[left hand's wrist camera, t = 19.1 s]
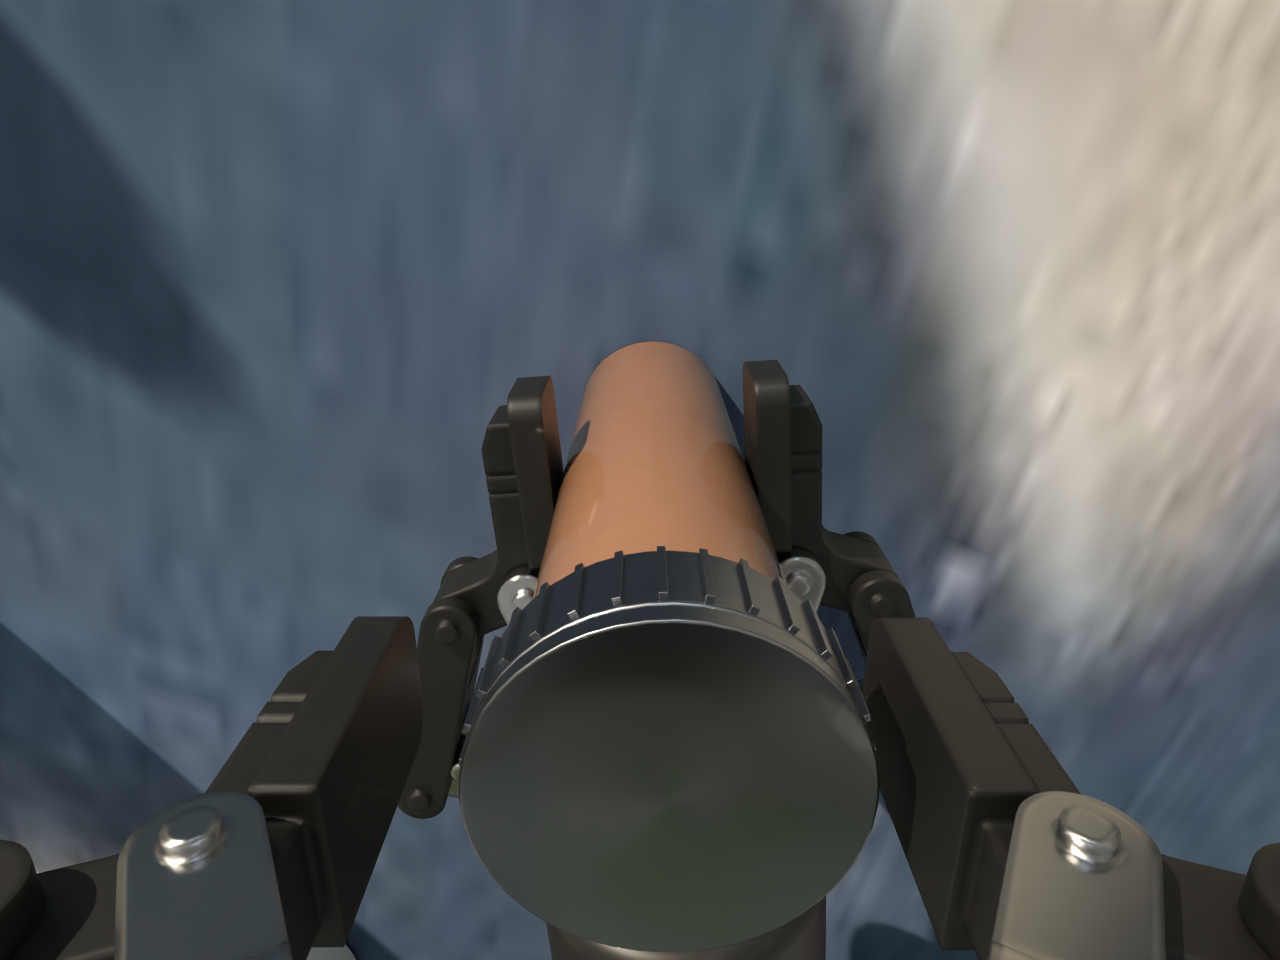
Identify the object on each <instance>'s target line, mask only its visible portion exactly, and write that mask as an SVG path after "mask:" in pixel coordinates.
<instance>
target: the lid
mask: <svg viewBox="0 0 1280 960" xmlns="http://www.w3.org/2000/svg"><path fill="white" fill-rule="evenodd" d="M870 721H872V719H871V716H870V713H869V710H868V708H867V705H866V703H865V701H864V698H863V696H862V693H861V691H860V688H859V686H858V684H857V681H856V679H855V676H854V674H853V671H852V669H851V667H850V664H849V662H848V659H847V658H845V655H844V653H843V650H842V648H841V645H840V643H839V641H838V638H837V636H836V633H835V631H834V630H833V628H832V627H831V628H829V629H827V630H826V629H825V627H824V626H823V624H822V623H821V621H820V620H819V618H818V615H817V613H816V610H815V607H814V605H813V603H812V602H811V601H810V600H809V599H807V600H806V601H805V602H803V601H801V600H800V599H799V598H798V597H797V596H796V595H794V594H793V593H792V592H791V591H790V590H789V589H787V588H786V585H785V582H784V579H782V578H781V577H779V576H777V577H776V578H775V579H774V580H773V579H772V578H770V577H769V576H767V575H765V574H763V573H760V572H758V571H756V570H754V569H752V568H750V567H749V563H748V561H746V560H744V559H740V560H739V562H738V563H737V562H734V561H731V560H728V559H725V558H722V557H717V556H712V555H709V554H708V550H707V549H701V548H700V549H699V553H697V552H685V551H672V550H669V551H666V547H665V546H657V551H645V552H639V553H633V554H626V555H624V553H623V551H618V552H615V554H614V557H613V558H610V559H606V560H603V561H599V562H596V563H594V564H591V565H589V566H587V567H585V566H584V564H583V563H580V564H578V565H576V566H575V570H574V572H573V573H571V574H569V575H567V576H566V577H564V578H562V579H560V580H559V581H557V582H555V583H554V584H552V585H551V586H550V585H549V584H548V582H546V583H544V584H543V585H541V587H540V591H539V595H537V596H536V597H535V598H534V599H532V600H531V601H530V603H529V604H528V605H527V606H526V607H525V608H524V609H523V610H522V609H520V608H519V607H516V609H515V610H514V611H513V612H512V616H511V619H510V623H509V626H508V628H507V629H506V631H505V632H504V634H503V636H502V637H501V638H500V637H497V636H495V637H494V639H493V641H492V644H491V647H490V650H489V653H488V657H487V660H486V663H485V666H484V668H481V672H480V675H479V678H478V681H477V684H476V688H475V691H474V694H473V697H472V700H471V704H470V707H469V710H468V713H467V716H466V719H465V723H464V726H463V731H465V732H467V735H466V738H465V741H464V744H463V748H462V751H461V754H460V758H459V766H460V771H459V801H460V808H461V814H462V819H463V822H464V825H465V828H466V831H467V834H468V837H469V840H470V842H471V844H472V846H473V848H474V850H475V852H476V854H477V856H478V858H479V860H480V861H481V863H482V864H483V865H484V867H485V868H486V870H487V871H488V872H489V874H490V875H491V877H492V878H493V879H494V880H495V881H496V882H497V883H498V884H499V885H500V887H501V888H502V889H503V890H504V891H505V892H506V893H507V894H508V895H509V896H511V897H512V898H513V899H514V900H515V901H517V902H518V903H519V904H520V905H521V906H523V907H524V908H525V909H527V910H528V911H530V912H531V913H533V914H534V915H536V916H537V917H539V918H540V919H542V920H544V921H545V922H547V923H549V924H551V925H553V926H555V927H557V928H559V929H561V930H563V931H565V932H568V933H570V934H573V935H576V936H578V937H581V938H584V939H586V940H589V941H593V942H597V943H600V944H604V945H608V946H612V947H617V948H624V949H630V950H636V951H650V952H688V951H696V950H704V949H712V948H716V947H721V946H725V945H730V944H734V943H738V942H741V941H744V940H747V939H750V938H753V937H756V936H759V935H762V934H764V933H766V932H768V931H771V930H773V929H775V928H777V927H780V926H782V925H784V924H785V923H787V922H789V921H790V920H792V919H794V918H796V917H797V916H799V915H801V914H803V913H804V912H805V911H807V910H808V909H809V908H811V907H812V906H813V905H815V904H816V903H817V902H819V901H820V900H821V899H823V898H824V897H825V896H826V895H827V894H828V893H829V892H830V891H831V890H832V889H833V888H834V887H835V886H836V885H837V884H838V883H839V882H840V881H841V880H842V878H843V877H844V876H845V875H846V873H847V872H848V871H849V870H850V869H851V867H852V866H853V864H854V863H855V861H856V860H857V858H858V856H859V855H860V853H861V851H862V850H863V848H864V846H865V844H866V841H867V839H868V837H869V834H870V832H871V829H872V827H873V823H874V819H875V815H876V811H877V807H878V800H879V787H880V778H879V766H878V758H877V748H876V746H875V743H874V741H873V738H872V736H871V733H870V731H869V728H868V726H867V723H866V722H870Z"/></svg>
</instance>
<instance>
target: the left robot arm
mask: <svg viewBox="0 0 1280 960" xmlns="http://www.w3.org/2000/svg"><path fill="white" fill-rule="evenodd" d="M862 696H863V698H864V701H865V703H866V705H867V708H868V710H869V713H870V716H871V719H872V721H870V722H866V723H867V726H868V728H869V731H870V733H871V736H872V738H873V741H874V743H875V746H876V748H877V758H878V766H879V778H880V790H881V792H882V795H883V798H884V800H885V803H886V806H887V808H888V811H889V813H890V816H891V819H892V821H893V824H894V826H895V829H896V832H897V834H898V837H899V840H900V842H901V845H902V847H903V850H904V853H905V855H906V858H907V861H908V863H909V866H910V868H911V871H912V874H913V876H914V879H915V882H916V884H917V887H918V889H919V892H920V895H921V897H922V900H923V902H924V905H925V908H926V910H927V913H928V916H929V918H930V921H931V923H932V926H933V929H934V931H935V934H936V937H937V939H938V942H939V944H940V947H941V950H975V952H976V955H977V957H978V959H979V960H1280V843H1276V844H1270V845H1267V846H1265V847H1262V848H1261V849H1260V850H1258V851H1257V852H1256V854H1255V855H1254V857H1253V859H1252V861H1251V864H1250V867H1249V870H1248V872H1247V875H1243V874H1239V873H1234V872H1230V871H1226V870H1222V869H1218V868H1213V867H1209V866H1205V865H1201V864H1197V863H1192V862H1188V861H1184V860H1180V859H1176V858H1173V857H1169V856H1166V855H1163V854H1160V851H1159V849H1158V847H1157V845H1156V844H1155V842H1154V841H1153V839H1152V838H1151V836H1150V835H1149V834H1148V833H1147V832H1146V831H1145V830H1144V829H1143V828H1142V827H1141V826H1140V825H1139V824H1138V823H1137V822H1136V821H1134V820H1133V819H1132V818H1130V817H1129V816H1127V815H1126V814H1125V813H1123V812H1121V811H1120V810H1118V809H1116V808H1114V807H1113V806H1111V805H1108V804H1106V803H1104V802H1102V801H1099V800H1097V799H1094V798H1091V797H1088V796H1085V795H1081V794H1080V792H1079V791H1078V789H1077V788H1076V787H1075V785H1074V784H1073V782H1072V781H1071V779H1070V778H1069V777H1068V775H1067V774H1066V772H1065V771H1064V769H1063V768H1062V766H1061V765H1060V764H1059V762H1058V761H1057V759H1056V758H1055V756H1054V755H1053V753H1052V752H1051V751H1050V749H1049V748H1048V746H1047V745H1046V743H1045V742H1044V741H1043V739H1042V738H1041V736H1040V735H1039V733H1038V732H1037V730H1036V729H1035V728H1034V726H1033V725H1032V724H1029V722H1028V717H1027V716H1026V715H1025V713H1024V712H1023V710H1022V709H1021V707H1020V706H1019V705H1018V703H1014V697H1013V696H1012V694H1011V693H1010V692H1009V690H1008V689H1007V687H1006V686H1005V684H1004V683H1003V681H1002V680H1001V679H1000V677H999V676H998V674H997V673H996V672H994V671H993V670H992V669H990V668H989V667H987V666H986V665H985V664H983V663H982V662H981V661H979V660H978V659H976V658H975V657H974V656H972V655H971V654H970V653H968V652H951V651H950V650H949V648H948V647H947V645H946V644H945V642H944V640H943V639H942V637H941V636H940V634H939V632H938V631H937V629H936V628H935V626H934V625H933V623H932V622H931V620H930V619H928V618H875V619H874V620H873V622H872V625H871V629H870V634H869V643H868V651H867V659H866V668H865V676H864V684H863V693H862ZM422 729H423V700H422V692H421V683H420V675H419V666H418V658H417V649H416V641H415V632H414V627H413V623H412V621H411V619H410V618H409V617H356V618H355V619H354V620H353V621H352V623H351V624H350V626H349V627H348V629H347V631H346V632H345V634H344V636H343V637H342V639H341V640H340V642H339V644H338V645H337V647H336V648H335V650H334V651H316V652H315V653H313V654H312V655H311V656H309V657H308V658H307V659H305V660H304V661H302V662H301V663H300V664H298V665H297V666H296V667H294V668H293V669H292V670H290V671H289V672H288V673H287V674H286V676H285V677H284V679H283V680H282V682H281V683H280V684H279V686H278V687H277V689H276V690H275V692H274V693H273V695H272V696H271V702H267V703H266V705H265V706H264V708H263V709H262V711H261V712H260V714H259V715H258V716H257V722H256V723H253V724H252V725H251V727H250V728H249V730H248V731H247V732H246V734H245V735H244V737H243V738H242V740H241V741H240V743H239V744H238V746H237V747H236V748H235V750H234V751H233V753H232V754H231V756H230V757H229V759H228V760H227V762H226V763H225V765H224V766H223V767H222V769H221V770H220V772H219V773H218V775H217V776H216V778H215V779H214V781H213V782H212V783H211V785H210V786H209V788H208V789H207V791H206V792H205V793H203V794H199V795H195V796H192V797H189V798H186V799H183V800H181V801H178V802H176V803H174V804H172V805H169V806H167V807H166V808H164V809H162V810H160V811H159V812H157V813H155V814H154V815H153V816H151V817H150V818H148V819H147V820H146V821H144V822H143V823H142V824H141V825H140V826H139V827H138V828H137V829H136V830H135V831H134V832H133V833H132V834H131V835H130V836H129V838H128V839H127V841H126V842H125V844H124V845H123V847H122V849H121V851H120V854H116V855H113V856H109V857H106V858H102V859H97V860H93V861H89V862H85V863H80V864H76V865H72V866H68V867H64V868H59V869H55V870H51V871H47V872H43V873H38V874H37V873H36V870H35V867H34V864H33V862H32V859H31V856H30V854H29V852H28V851H27V849H26V848H24V847H23V846H22V845H20V844H18V843H15V842H12V841H6V840H0V960H307V957H308V955H309V952H310V950H311V948H312V947H344V946H345V944H346V941H347V938H348V936H349V933H350V930H351V928H352V925H353V922H354V920H355V917H356V914H357V912H358V909H359V906H360V904H361V901H362V898H363V896H364V893H365V890H366V888H367V885H368V882H369V880H370V877H371V874H372V872H373V869H374V866H375V864H376V861H377V858H378V856H379V853H380V850H381V848H382V845H383V842H384V840H385V837H386V834H387V832H388V829H389V826H390V824H391V821H392V818H393V816H394V813H395V811H396V808H397V805H398V803H399V800H400V797H401V795H402V792H403V789H404V787H405V784H406V781H407V779H408V776H409V773H410V771H411V768H412V765H413V763H414V760H415V757H416V755H417V752H418V749H419V745H420V741H421V736H422Z"/></svg>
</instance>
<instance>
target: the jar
mask: <svg viewBox="0 0 1280 960" xmlns="http://www.w3.org/2000/svg"><path fill="white" fill-rule="evenodd" d="M657 546H665V547H666V551H669V550H672V551H685V552H697V553H699V549H700V548H701V549H707V550H708V554H709V555H712V556H717V557H722V558H725V559H728V560H731V561H734V562H737V563H738V562H739V560H740V559H744V560H746V561H748V563H749V567H750V568H752V569H754V570H756V571H758V572H760V573H763V574H765V575H767V576H769V577H770V578H772V579H773V580H774V579H775V578H776V577H777V576H779V577H781V578H782V579H784V582H785V585H786V588H787V589H788V586H787V583H786V580H785V577H784V574H783V571H782V568H781V566H780V563H779V560H778V557H777V554H776V551H775V548H774V545H773V542H772V539H771V536H770V533H769V530H768V527H767V524H766V522H765V519H764V516H763V513H762V510H761V507H760V504H759V501H758V498H757V495H756V492H755V489H754V486H753V483H752V481H751V478H750V475H749V472H748V469H747V466H746V463H745V460H744V457H743V454H742V451H741V448H740V445H739V442H738V439H737V437H736V434H735V431H734V428H733V425H732V422H731V419H730V416H729V413H728V410H727V407H726V404H725V401H724V398H723V395H722V393H721V390H720V387H719V385H718V382H717V380H716V378H715V377H714V375H713V373H712V372H711V370H710V369H709V368H708V366H707V365H706V364H705V363H704V362H703V361H702V360H701V359H699V358H698V357H697V356H695V355H694V354H693V353H691V352H689V351H688V350H686V349H684V348H681V347H679V346H676V345H673V344H669V343H663V342H642V343H637V344H633V345H629V346H627V347H624V348H622V349H620V350H618V351H616V352H614V353H613V354H611V355H610V356H609V357H607V358H606V359H605V360H604V361H603V362H602V363H601V364H600V365H599V366H598V367H597V368H596V369H595V371H594V372H593V373H592V375H591V377H590V378H589V380H588V382H587V385H586V387H585V390H584V393H583V397H582V401H581V405H580V410H579V414H578V418H577V422H576V426H575V430H574V434H573V438H572V442H571V446H570V450H569V454H568V458H567V462H566V466H565V470H564V474H563V478H562V482H561V486H560V490H559V494H558V498H557V502H556V507H555V511H554V515H553V519H552V523H551V527H550V531H549V535H548V539H547V543H546V547H545V551H544V555H543V559H542V563H541V567H540V571H539V575H538V579H537V583H536V587H535V591H534V595H533V599H534V598H535V597H536V596H537V595H539V591H540V587H541V585H543V584H544V583H546V582H548V584H549V585H550V586H551V585H552V584H554V583H555V582H557V581H559V580H560V579H562V578H564V577H566V576H567V575H569V574H571V573H573V572H574V570H575V566H576V565H578V564H580V563H583V564H584V566H585V567H587V566H589V565H591V564H594V563H596V562H599V561H603V560H606V559H610V558H613V557H614V554H615V552H618V551H623V553H624V555H626V554H633V553H639V552H645V551H657Z"/></svg>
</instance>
